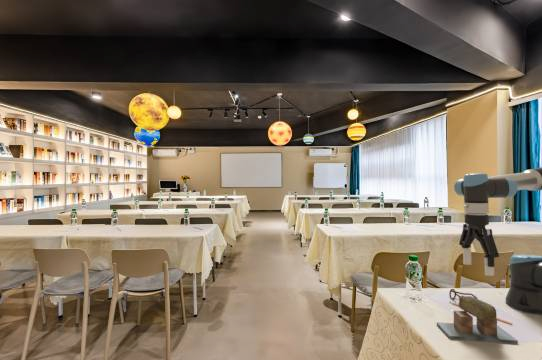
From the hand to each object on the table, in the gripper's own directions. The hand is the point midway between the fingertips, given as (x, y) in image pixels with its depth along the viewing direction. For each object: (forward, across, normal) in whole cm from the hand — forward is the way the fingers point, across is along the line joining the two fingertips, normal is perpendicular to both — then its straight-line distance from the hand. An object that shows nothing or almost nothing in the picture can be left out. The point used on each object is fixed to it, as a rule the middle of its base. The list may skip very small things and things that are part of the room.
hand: (477, 269), depth 108 cm
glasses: (+24, -25, +11) cm, 36 cm away
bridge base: (+22, +4, -4) cm, 23 cm away
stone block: (+15, +4, -3) cm, 16 cm away
